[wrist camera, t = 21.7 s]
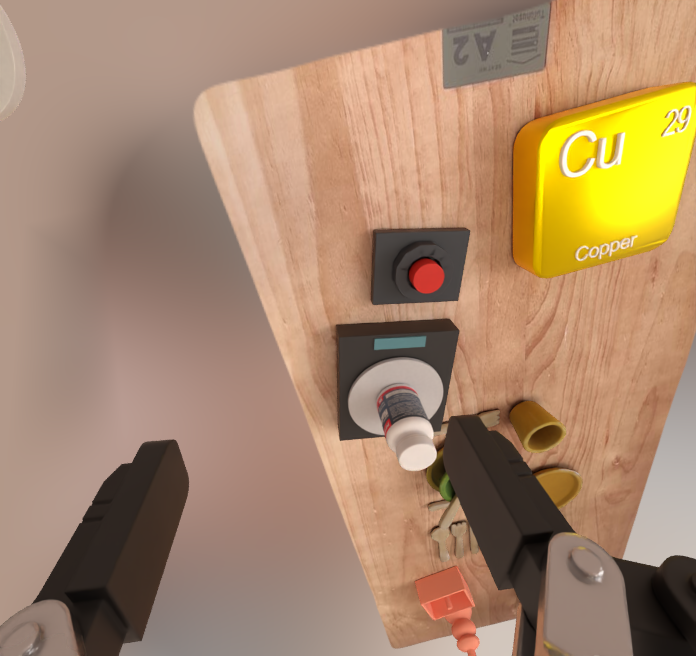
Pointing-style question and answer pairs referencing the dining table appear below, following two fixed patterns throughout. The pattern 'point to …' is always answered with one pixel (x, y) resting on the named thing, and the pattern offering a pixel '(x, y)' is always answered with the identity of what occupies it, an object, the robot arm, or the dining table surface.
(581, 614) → the robot arm
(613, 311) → the dining table surface
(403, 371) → the scale
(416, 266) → the button
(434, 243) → the block
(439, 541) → the tableware set
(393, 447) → the pill bottle
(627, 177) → the element tile
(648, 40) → the dining table surface
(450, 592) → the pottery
